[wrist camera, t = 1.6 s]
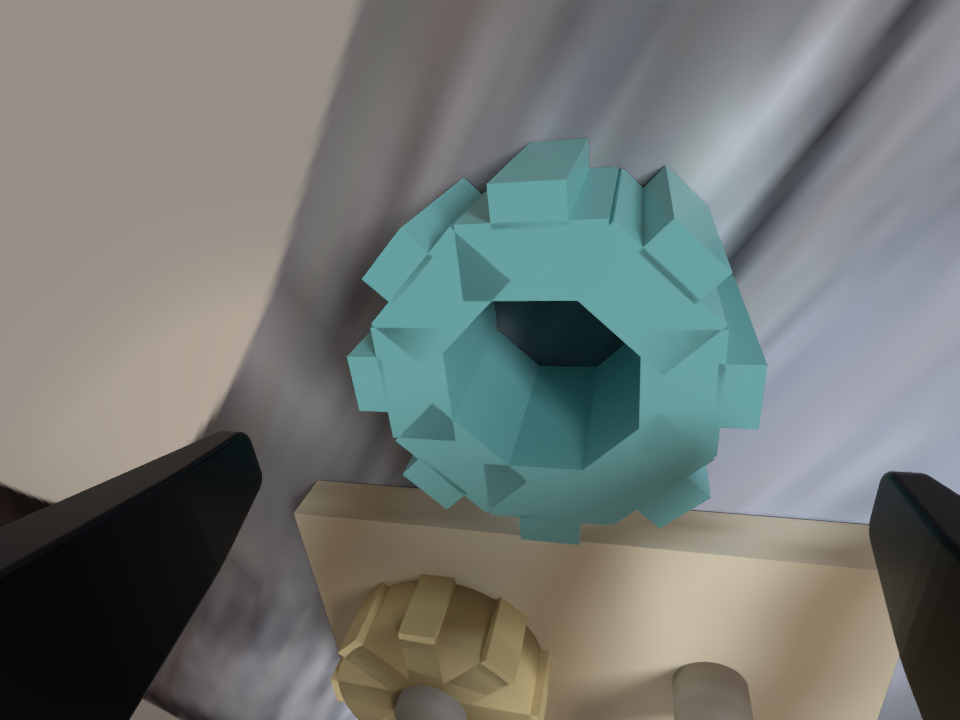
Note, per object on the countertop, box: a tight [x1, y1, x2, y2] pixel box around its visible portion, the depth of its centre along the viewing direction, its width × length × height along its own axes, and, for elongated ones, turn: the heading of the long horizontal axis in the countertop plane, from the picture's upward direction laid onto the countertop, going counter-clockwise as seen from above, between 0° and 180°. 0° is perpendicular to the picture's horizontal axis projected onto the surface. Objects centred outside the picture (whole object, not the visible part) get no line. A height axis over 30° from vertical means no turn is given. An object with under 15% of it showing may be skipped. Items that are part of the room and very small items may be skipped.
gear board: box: [294, 480, 899, 720], centre depth 16 cm, size 16×10×6 cm, turn 96°
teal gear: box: [347, 138, 767, 545], centre depth 12 cm, size 7×7×4 cm
